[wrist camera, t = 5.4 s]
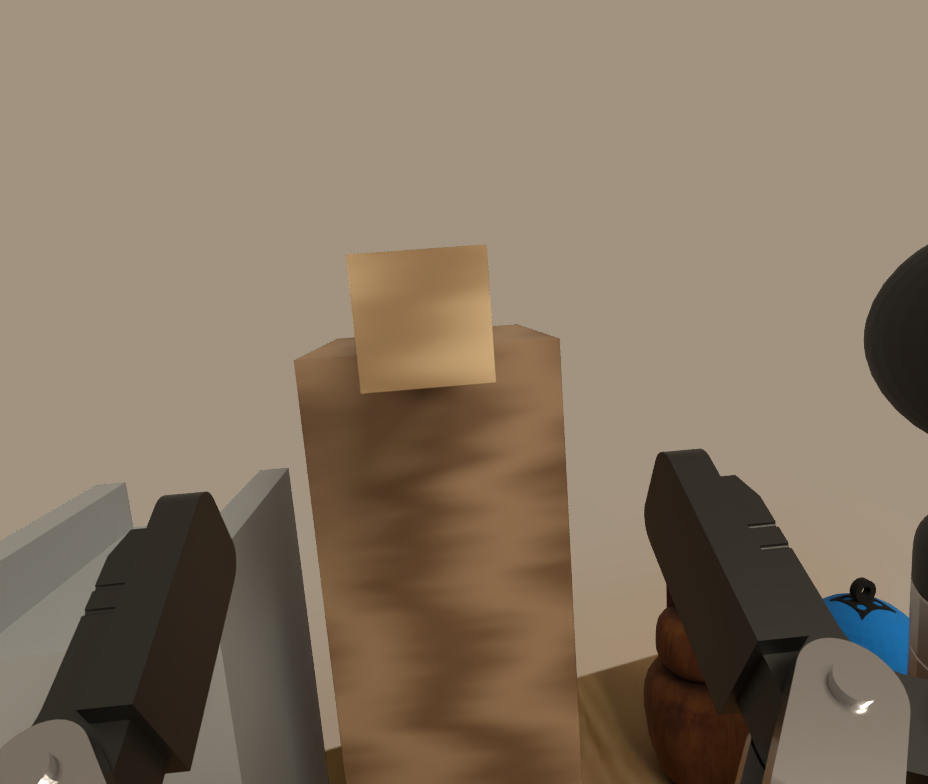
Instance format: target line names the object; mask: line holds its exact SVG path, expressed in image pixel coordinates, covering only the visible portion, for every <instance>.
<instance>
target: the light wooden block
mask: <svg viewBox="0 0 928 784" xmlns="http://www.w3.org/2000/svg"><path fill="white" fill-rule="evenodd" d="M346 257H347V268H348V277H349V287H350V296H351V306H352V315H353V324H354V334H355V343H356V353H357V362H358V372H359V381H360V391H361V394H363V393H375V392H387V391H398V390H410V389H422V388H434V387H446V386H457V385H469V384H481V383H493V382H496V375H495V360H494V346H493V331H492V316H491V302H490V287H489V273H488V260H487V245H486V244H485V245H471V246H457V247H444V248H430V249H418V250H403V251H390V252H376V253H363V254H349V255H346Z"/></svg>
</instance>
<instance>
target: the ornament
mask: <svg viewBox="0 0 928 784" xmlns="http://www.w3.org/2000/svg"><path fill="white" fill-rule="evenodd" d="M863 588H864V590H863ZM862 590H863V592H862ZM861 592H862V593H861ZM875 593H876V587H875V584H874V583H873V582H871V581H869V580H867V579H865V578H858V579H856V580H855V581H854V582H853V583H852V585H851V587H850V593H845V594H835V595H832V596H829V597H826V598H824V599H823V601H824V602H825V604H826V606H827V607H828V609H829V611H830V612H831V614H832V616H833V617H834V619H835V620H836V622H837V624H838V625H839V627H840V628H841V630H842V631H843V633H844V634H845V635H846V636H847V638H848V639H849V640H850V641H851V642H853V643H855V644H858V645H860V646H862V647H864V648H866V649H868V650H869V651H871V652H872V653H874V654H875V655H877V656H878V657H879V658H880V659H881V660H883V661H884V662H885V663H886V664H887V665H888V666H889V667H890V668H891V669H892V670H893V671H896V672H898V673H901V674H904V675H907V661H908V640H909V618H908V617H907V616H906V615H905V614H904V613H902V612H901V611H899V610H898V609H897V608H895V607H894V606H892V605H891V604H889V603H887V602H884V601H882V600H880V599H877V598H874V596H875Z"/></svg>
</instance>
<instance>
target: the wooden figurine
mask: <svg viewBox="0 0 928 784" xmlns="http://www.w3.org/2000/svg"><path fill="white" fill-rule="evenodd" d="M656 649H657V652H658V655H659V656H658V657H657V658H656V659H655V660H654V661H653V663H652V664H651V666H650V667H649V669H648V672H647V675H646V678H645V685H644V707H645V712H646V718H647V724H648V731H649V735H650V738H651V742H652V745H653V748H654V751H655V753H656V756H657V758H658V761H659V763H660V766H661V768H662V769H663V770H664V772H665V773H666V774H667V776H668V777H669V778H670V779H671V780H673V781H674V782H675V783H676V784H735V781H736V777H737V773H738V769H739V765H740V761H741V757H742V754H743V750H744V746H745V742H746V738H747V736H748V733H749V730H748V728H747V726H746V723H745V721H744V719H743V716H742V714H741V713H733V714H724V715H718V713H717V711H716V708H715V706H714V703H713V701H712V698H711V695H710V693H709V690H708V688H707V685H706V683H705V680H704V678H703V675H702V673H701V670H700V668H699V665H698V663H697V660H696V657H695V655H694V652H693V650H692V647H691V645H690V642H689V640H688V637H687V635H686V632H685V630H684V627H683V625H682V622H681V619H680V617H679V614H678V612H677V609H676V607H675V604H674V602H673V599H672V597H671V594H670V592H669V589H668V586H667V608H666V609H665V610H664V611H663V612H662V613H661V615H660V616H659V618H658V621H657V625H656Z"/></svg>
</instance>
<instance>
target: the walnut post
mask: <svg viewBox="0 0 928 784" xmlns="http://www.w3.org/2000/svg"><path fill="white" fill-rule="evenodd" d="M492 331H493V346H494V360H495V375H496V382H493V383H481V384H469V385H457V386H446V387H434V388H422V389H410V390H398V391H387V392H375V393H363V394H361V391H360V381H359V372H358V362H357V353H356V343H355V337H354V338H342V339H336V340H334V341H332V342H330V343H328V344H326V345H324V346H322V347H320V348H318V349H316V350H314V351H312V352H310V353H308V354H306V355H304V356H302V357H300V358H298V359H296V360H294V366H295V374H296V382H297V390H298V398H299V407H300V415H301V423H302V431H303V439H304V447H305V455H306V463H307V471H308V480H309V488H310V496H311V504H312V511H313V520H314V528H315V537H316V545H317V553H318V561H319V568H320V577H321V585H322V594H323V602H324V610H325V618H326V626H327V633H328V642H329V650H330V659H331V667H332V675H333V683H334V691H335V699H336V707H337V715H338V723H339V732H340V740H341V748H342V756H343V764H344V772H345V781H346V784H582V771H581V751H580V732H579V712H578V692H577V673H576V654H575V634H574V614H573V594H572V575H571V554H570V535H569V515H568V496H567V475H566V457H565V437H564V416H563V398H562V397H563V396H562V377H561V357H560V339H559V338H556V337H553V336H550V335H547V334H544V333H541V332H538V331H535V330H532V329H529V328H527V327H524V326H521V325H518V324H515V325H504V326H492Z"/></svg>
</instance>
